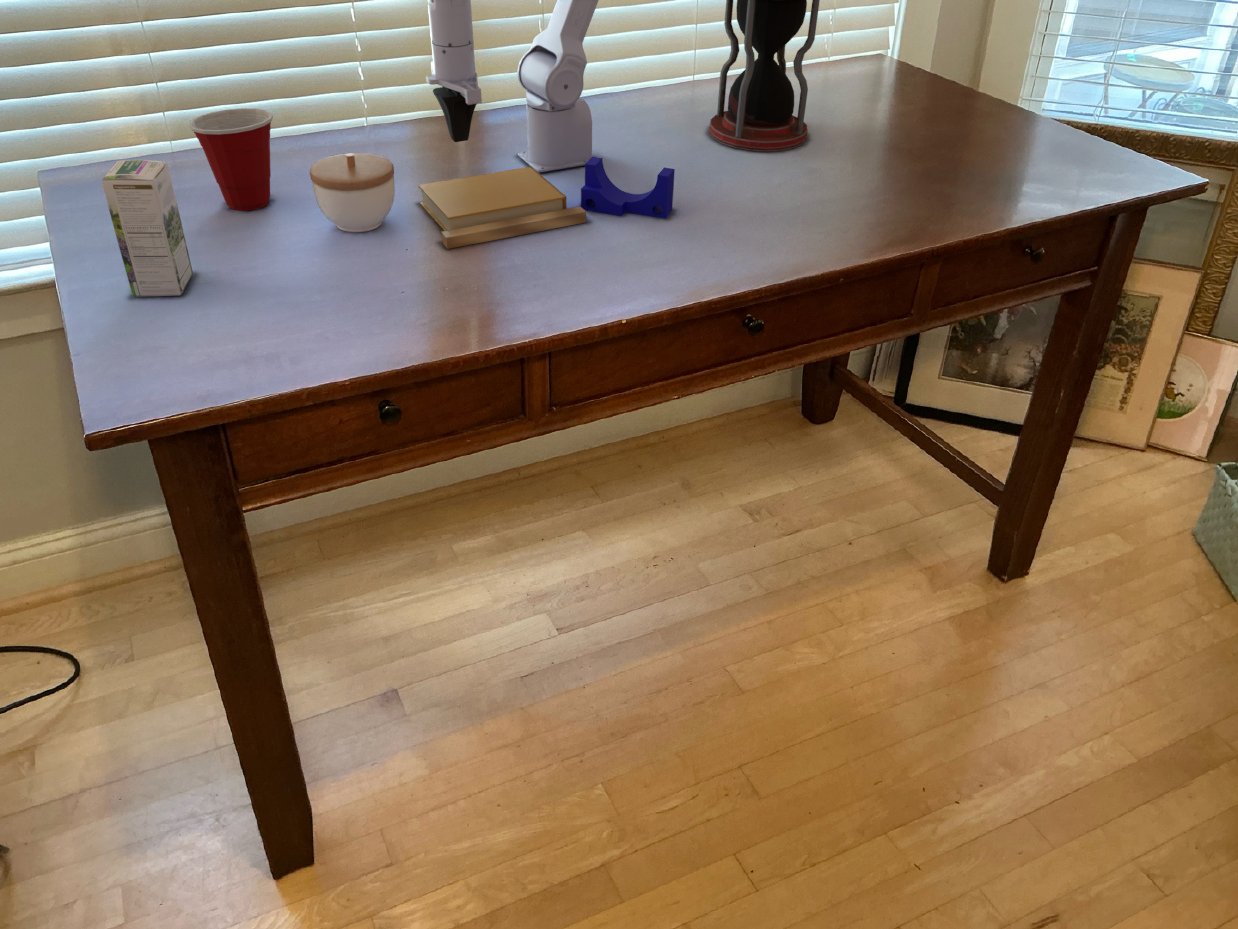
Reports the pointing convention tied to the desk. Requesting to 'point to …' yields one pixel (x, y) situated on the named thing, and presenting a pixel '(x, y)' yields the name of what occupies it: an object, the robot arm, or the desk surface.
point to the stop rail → (513, 227)
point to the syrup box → (148, 227)
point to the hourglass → (764, 77)
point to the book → (490, 198)
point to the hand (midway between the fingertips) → (459, 139)
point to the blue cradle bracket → (625, 193)
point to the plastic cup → (238, 154)
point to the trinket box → (354, 189)
